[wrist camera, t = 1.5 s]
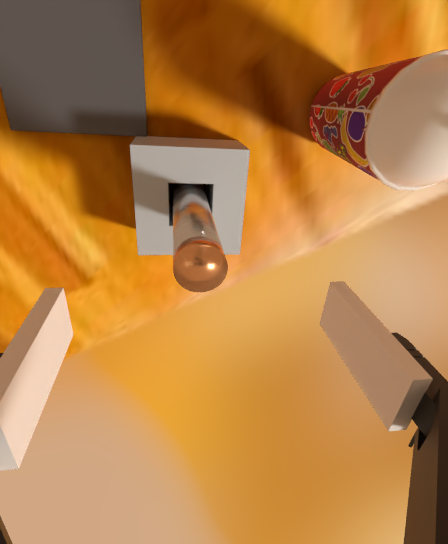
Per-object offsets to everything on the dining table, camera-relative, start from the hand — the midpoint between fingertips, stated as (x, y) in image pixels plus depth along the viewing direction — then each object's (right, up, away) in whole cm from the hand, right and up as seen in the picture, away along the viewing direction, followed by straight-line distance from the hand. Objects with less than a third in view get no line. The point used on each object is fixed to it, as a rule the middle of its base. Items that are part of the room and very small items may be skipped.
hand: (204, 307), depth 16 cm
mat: (-12, +20, +11) cm, 26 cm away
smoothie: (+12, +18, +17) cm, 28 cm away
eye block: (-3, +11, +18) cm, 21 cm away
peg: (-3, +11, +18) cm, 21 cm away
